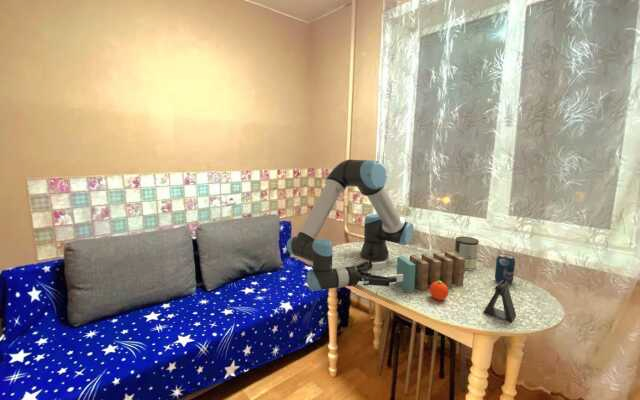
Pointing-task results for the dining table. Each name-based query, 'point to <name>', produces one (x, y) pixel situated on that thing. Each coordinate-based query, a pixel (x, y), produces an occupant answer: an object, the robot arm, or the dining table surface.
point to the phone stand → (507, 303)
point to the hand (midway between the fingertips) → (393, 270)
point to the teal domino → (406, 273)
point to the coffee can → (467, 251)
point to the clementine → (438, 290)
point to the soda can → (505, 268)
